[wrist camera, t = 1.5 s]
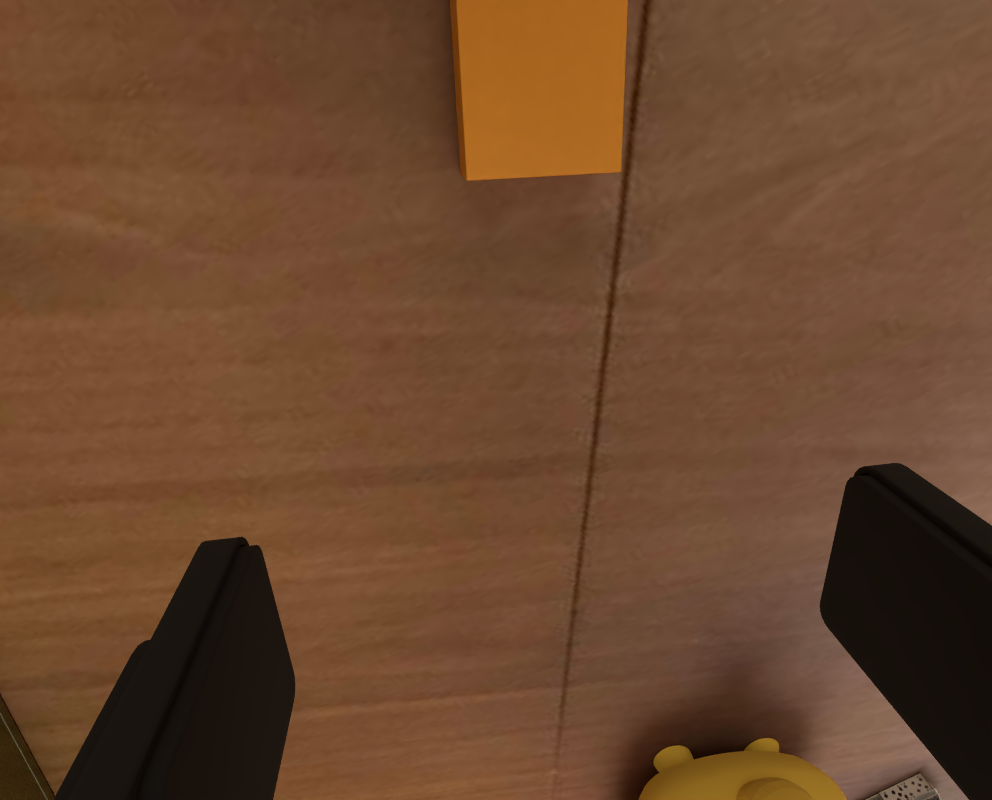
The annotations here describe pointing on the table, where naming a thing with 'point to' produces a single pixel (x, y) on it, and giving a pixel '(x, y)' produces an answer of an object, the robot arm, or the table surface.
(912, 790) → the house of cards
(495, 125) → the block
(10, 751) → the bin
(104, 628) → the table surface
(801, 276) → the table surface
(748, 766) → the teapot
